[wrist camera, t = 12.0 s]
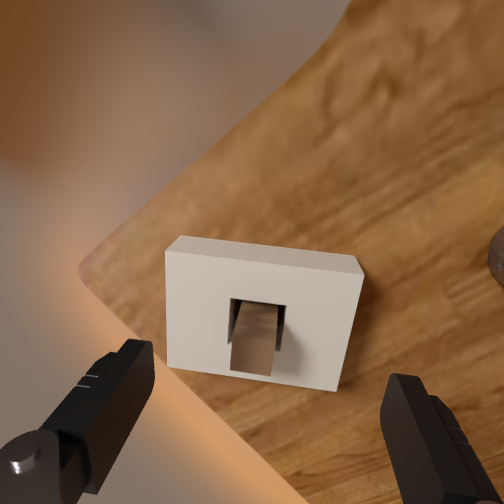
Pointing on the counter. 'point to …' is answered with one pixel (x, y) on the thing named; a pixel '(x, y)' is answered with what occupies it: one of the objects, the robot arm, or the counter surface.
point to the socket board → (260, 290)
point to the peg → (254, 338)
